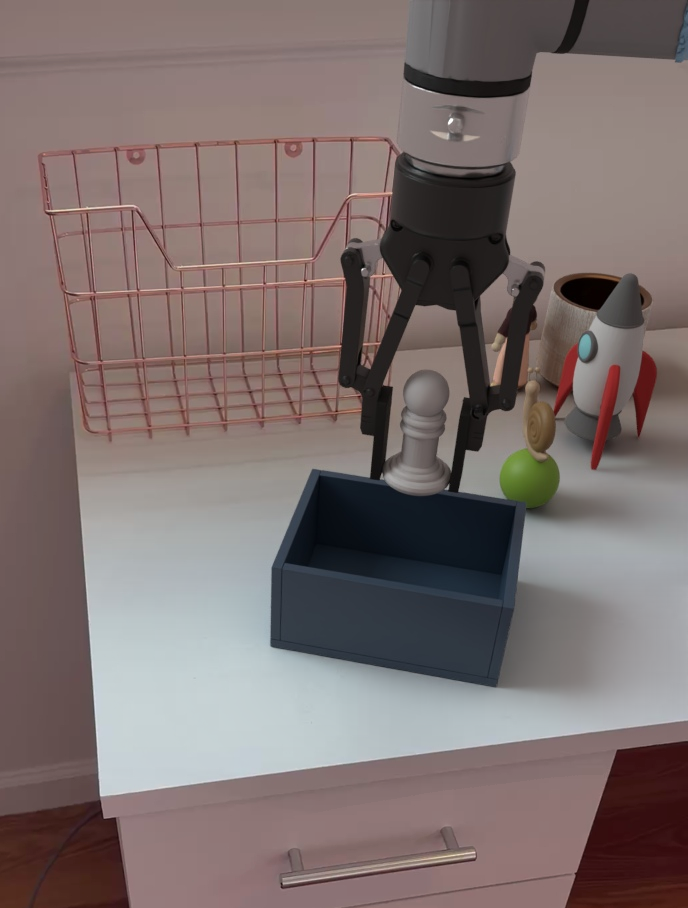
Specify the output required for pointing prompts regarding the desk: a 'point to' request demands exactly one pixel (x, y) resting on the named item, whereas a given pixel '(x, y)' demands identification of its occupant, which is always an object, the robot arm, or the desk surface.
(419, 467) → the chess piece
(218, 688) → the desk surface
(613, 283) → the planter
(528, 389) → the snail figurine
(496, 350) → the grandmother figurine
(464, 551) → the tote
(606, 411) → the toy
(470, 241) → the robot arm
